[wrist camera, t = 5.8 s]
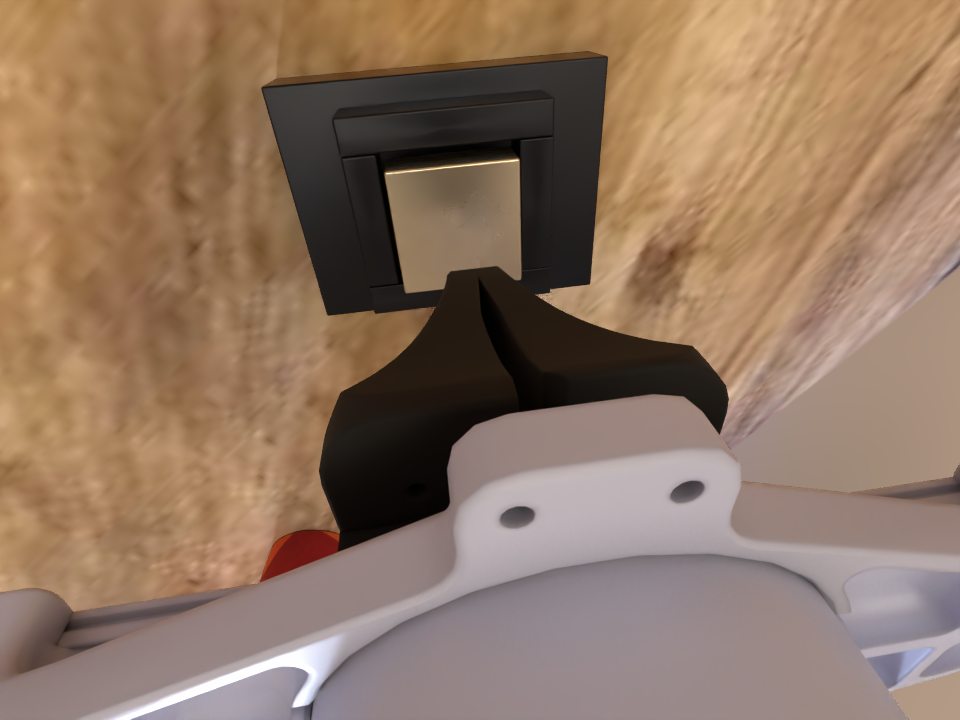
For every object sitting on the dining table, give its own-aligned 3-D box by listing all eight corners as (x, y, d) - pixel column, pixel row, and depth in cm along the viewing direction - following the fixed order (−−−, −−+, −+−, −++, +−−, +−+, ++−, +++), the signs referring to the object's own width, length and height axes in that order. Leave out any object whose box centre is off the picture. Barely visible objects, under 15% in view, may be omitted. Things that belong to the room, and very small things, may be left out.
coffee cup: (226, 554, 34) (130, 855, 22) (316, 503, 32) (265, 801, 20) (313, 598, 39) (273, 867, 27) (396, 556, 37) (393, 825, 25)
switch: (510, 145, 17) (520, 158, 16) (513, 260, 20) (522, 280, 18) (385, 157, 17) (383, 172, 15) (404, 273, 20) (405, 294, 18)
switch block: (589, 50, 19) (627, 60, 16) (576, 264, 24) (603, 304, 21) (273, 78, 18) (246, 94, 15) (332, 292, 23) (321, 338, 20)
